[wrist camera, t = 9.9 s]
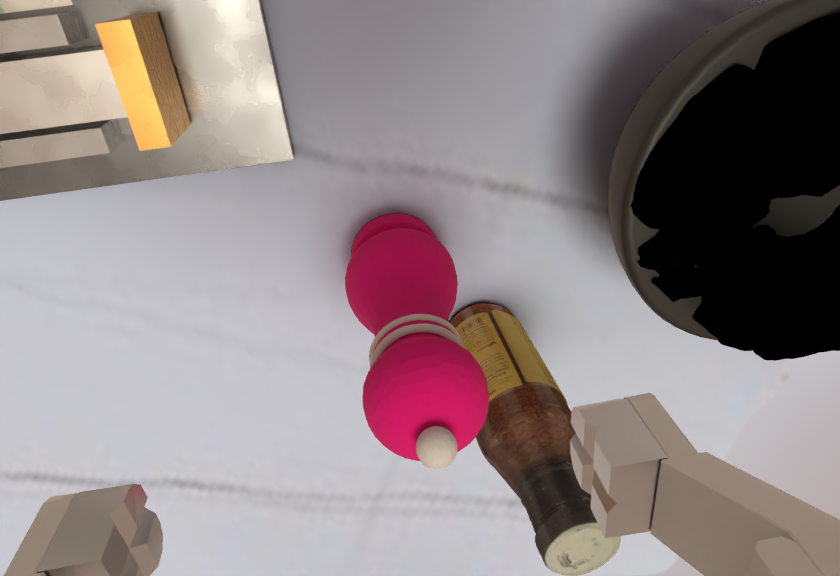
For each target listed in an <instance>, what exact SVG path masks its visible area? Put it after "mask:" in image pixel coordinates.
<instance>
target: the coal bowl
mask: <svg viewBox="0 0 840 576" xmlns="http://www.w3.org/2000/svg"><path fill="white" fill-rule="evenodd" d="M608 212H609V220H610V227H611V233H612V237H613V241H614V245H615V248H616V251H617V254H618V257H619V259H620V262H621V264H622V267H623V269H624V271H625V272H626V274H627V276H628V278H629V280H630V282H631V283H632V285H633V287H634V288H635V289H636V291H637V292H638V294H639V295H640V296H641V298H642V299H643V300H644V302H645V303H646V304H647V305H648V306H649V307H650V308H651V309H652V310H653V311H654V312H655V313H656V314H657V315H659V316H660V317H661V318H662V319H663V320H665V321H667V322H668V323H670V324H672V325H673V326H675V327H677V328H679V329H681V330H683V331H686V332H688V333H690V334H693V335H696V336H700V337H703V338H708V339H713V340H718V341H719V342H720V343H721V344H722V345H726V346H729V347H733V348H737V349H739V350H743V351H751V350H753V351H754V353H756V354H757V355H758V356H760V357H762V358H763V359H764V360H774V361H775V360H781V359H794V358H799V357H804V356H808V355H812V354H816V353H818V352H827V351H832V350H833V351H834V350H836V351H839V350H840V0H769V1H766V2H763V3H761V4H758V5H756V6H754V7H752V8H749V9H747V10H745V11H743V12H741V13H739V14H737V15H735V16H733V17H731V18H729V19H727V20H726V21H724V22H722V23H720V24H718V25H717V26H715V27H714V28H712V29H711V30H709V31H708V32H706V33H705V34H703V35H702V36H700V37H699V38H698V39H696V40H695V41H694V42H693V43H691V44H690V45H689V46H688V47H686V48H685V49H684V50H683V51H681V52H680V53H679V54H678V55H677V56H676V57H675V58H674V59H673V60H672V61H671V62H669V63H668V64H667V65H666V67H665V68H664V69H663V70H662V71H661V72H660V73H659V74H658V75H657V76H656V78H655V79H654V80H653V81H652V83H651V84H650V85H649V86H648V88H647V89H646V90H645V92H644V93H643V95H642V96H641V98H640V99H639V101H638V102H637V104H636V105H635V107H634V109H633V111H632V112H631V114H630V116H629V118H628V120H627V122H626V124H625V126H624V128H623V131H622V133H621V135H620V138H619V141H618V144H617V146H616V149H615V153H614V157H613V161H612V165H611V171H610V177H609V189H608Z"/></svg>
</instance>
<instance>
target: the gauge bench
mask: <svg viewBox="0 0 840 576" xmlns="http://www.w3.org/2000/svg"><path fill="white" fill-rule="evenodd" d="M153 12H157V13H158V16H159V20H160V23H161V26H162V30H163V33H164V36H165V40H166V43H167V46H168V50H169V53H170V56H171V60H172V63H173V66H174V69H175V73H176V76H177V79H178V83H179V86H180V89H181V93H182V96H183V99H184V103H185V106H186V109H187V113H188V116H189V119H190V123H191V125H190V126H189V127H188V128H187V129H186V130H185V132H184V133H183V134H182V135H181V136H180V137H179V138H178V139H177V141H176V142H175V143H174V144H173V145H172V146H171V147H165V148H158V149H150V150H143V151H139V148H138V145H137V142H136V139H135V136H134V134H133V131H132V128H131V125H130V122H129V119H128V117H125V118H117V119H110V120H102V121H95V122H87V123H80V124H72V125H65V126H57V127H50V128H42V129H35V130H27V131H20V132H12V133H5V134H0V201H2V200H9V199H16V198H23V197H31V196H38V195H45V194H52V193H59V192H66V191H73V190H80V189H87V188H95V187H102V186H109V185H116V184H123V183H130V182H137V181H144V180H151V179H159V178H166V177H173V176H180V175H187V174H194V173H201V172H208V171H215V170H223V169H230V168H237V167H244V166H251V165H258V164H265V163H272V162H279V161H287V160H293V159H294V151H293V146H292V142H291V137H290V133H289V128H288V123H287V119H286V114H285V110H284V105H283V100H282V96H281V91H280V87H279V82H278V77H277V73H276V68H275V64H274V59H273V54H272V50H271V45H270V41H269V36H268V31H267V27H266V22H265V18H264V13H263V8H262V4H261V0H0V59H4V58H12V57H20V56H27V55H35V54H43V53H51V52H59V51H67V50H75V49H83V48H91V47H99V46H102V43H101V40H100V37H99V35H98V32H97V29H96V26H95V24H96V23H100V22H104V21H108V20H112V19H116V18H120V17H124V16H129V15H137V14H145V13H153Z"/></svg>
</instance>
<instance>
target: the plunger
mask: <svg viewBox="0 0 840 576" xmlns="http://www.w3.org/2000/svg"><path fill="white" fill-rule="evenodd" d="M95 26H96V29H97V32H98V35H99V37H100V40H101V43H102V46H99V47H91V48H83V49H75V50H67V51H59V52H51V53H43V54H35V55H27V56H20V57H12V58H4V59H0V134H5V133H12V132H20V131H27V130H35V129H42V128H50V127H57V126H65V125H72V124H80V123H87V122H95V121H102V120H110V119H117V118H125V117H128V119H129V122H130V125H131V128H132V131H133V134H134V136H135V139H136V142H137V145H138V148H139V151H143V150H150V149H158V148H165V147H171V146H172V145H173V144H174V143H175V142H176V141H177V139H178V138H179V137H180V136H181V135H182V134H183V133H184V132H185V130H186V129H187V128H188V127H189V126H190V125H191V123H190V119H189V116H188V113H187V109H186V106H185V103H184V99H183V96H182V93H181V89H180V86H179V83H178V79H177V76H176V73H175V69H174V66H173V63H172V60H171V56H170V53H169V50H168V46H167V43H166V40H165V36H164V33H163V30H162V26H161V23H160V20H159V16H158V13H157V12H153V13H145V14H137V15H129V16H124V17H120V18H116V19H112V20H108V21H104V22H100V23H96V24H95Z"/></svg>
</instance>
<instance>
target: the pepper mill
mask: <svg viewBox="0 0 840 576" xmlns="http://www.w3.org/2000/svg"><path fill="white" fill-rule="evenodd" d="M457 285H458V283H457V275H456V271H455V267H454V263H453V260H452V258H451V256H450V254H449V253H448V251H447V250H446V248H445V247H444V246H443V245H442V244H441V243H440V242H439V241H438V240H437V239H436V236H435V234H434V233H433V231H432V230H431V229H430V228H429V227H428V226H427V225H426V224H425V223H424V222H423V221H421V220H420V219H418V218H416V217H413V216H410V215H407V214H399V213H397V214H387V215H383V216H380V217H378V218H375V219H373V220H372V221H370V222H369V223H367V224H366V225H365V226H364V227H363V228H362V229H361V230H360V231H359V233H358V234H357V236H356V238H355V240H354V243H353V245H352V250H351V260H350V262H349V264H348V267H347V271H346V277H345V286H346V293H347V297H348V301H349V304H350V306H351V308H352V310H353V312H354V314H355V315H356V317H357V318H358V319H359V321H360V322H361V323H362V324H363V325H364V326H365V327H366V328H367V329H368V330H369V331H371V332H372V333H373V334H375V338H374V340H373V342H372V345H371V348H370V354H369V361H370V371H369V372H368V375H367V377H366V380H365V383H364V388H363V408H364V412H365V416H366V419H367V422H368V425H369V427H370V429H371V431H372V432H373V434H374V435H375V437H376V438H377V439H378V440H379V441H380V442H381V443H382V444H383V445H384V446H385V447H386V448H388V449H389V450H391V451H392V452H394V453H395V454H397V455H399V456H402V457H404V458H407V459H411V460H416V461H421V462H422V463H423V464H424V465H425V466H427V467H429V468H433V469H439V468H444V467H446V466H448V465H449V464H450V463H451V462H452V461H453V460H454V458H455V456H456V453H457V452H458V451H460V450H461V449H463V448H464V447H466V446H467V445H468V444H470V443H471V441H472V440H473V439H474V438H475V437H476V436H477V434H478V433H479V431H480V430H481V428H482V427H483V425H484V422H485V419H486V417H487V413H488V407H489V392H488V386H487V380H486V377H485V374H484V372H483V370H482V368H481V366H480V364H479V363H478V362H477V360H476V359H475V358H474V357H473V355H472V354H471V353H470V352H469V351H467V350H466V349H465V348H464V345H463V342H462V339H461V336H460V334H459V333H458V331H457V330H456V329H455V328H454V327H453V326H452V325H451V324H450V323H449V322H448V318H449V315H450V313H451V312H452V310H453V307H454V305H455V301H456V295H457Z"/></svg>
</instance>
